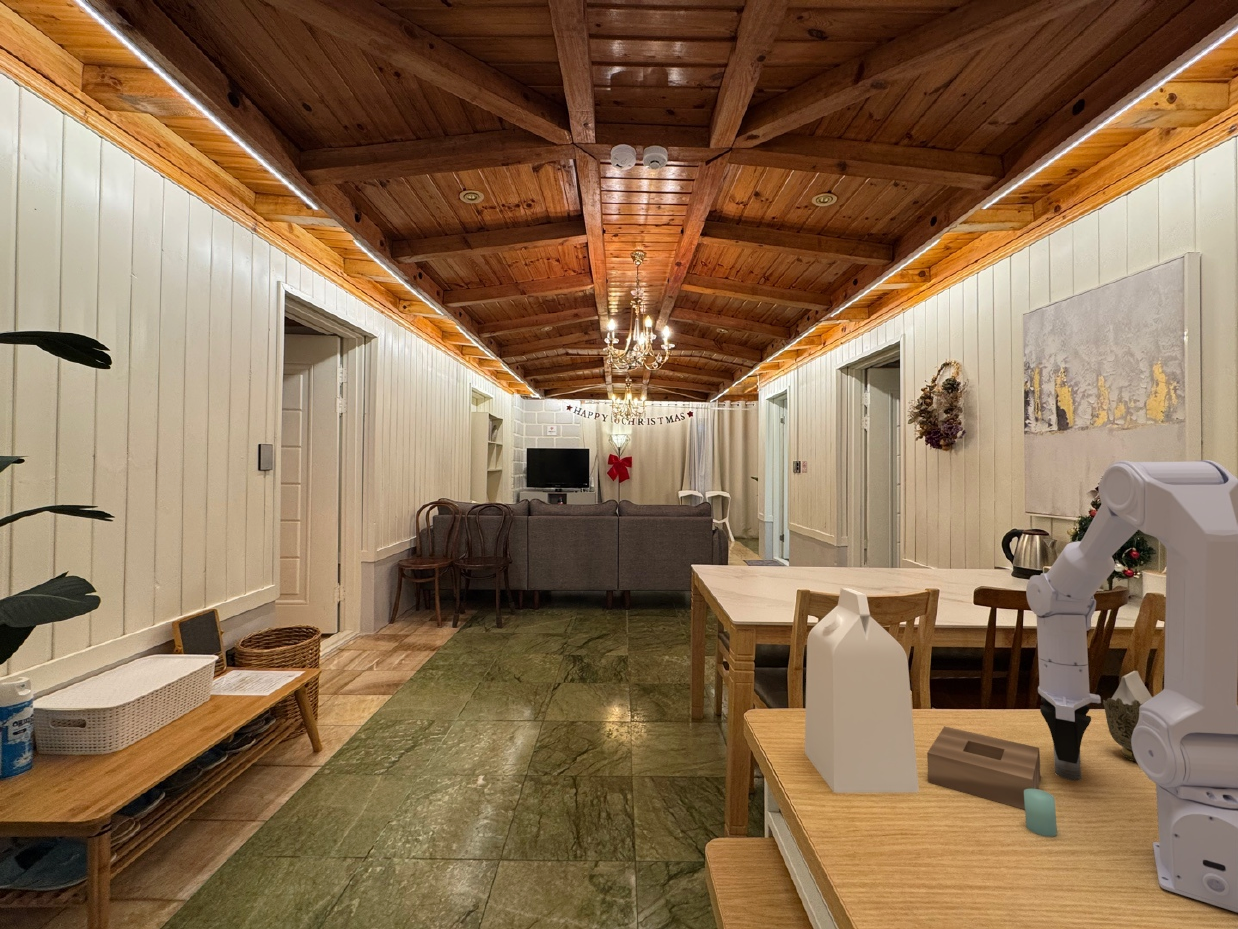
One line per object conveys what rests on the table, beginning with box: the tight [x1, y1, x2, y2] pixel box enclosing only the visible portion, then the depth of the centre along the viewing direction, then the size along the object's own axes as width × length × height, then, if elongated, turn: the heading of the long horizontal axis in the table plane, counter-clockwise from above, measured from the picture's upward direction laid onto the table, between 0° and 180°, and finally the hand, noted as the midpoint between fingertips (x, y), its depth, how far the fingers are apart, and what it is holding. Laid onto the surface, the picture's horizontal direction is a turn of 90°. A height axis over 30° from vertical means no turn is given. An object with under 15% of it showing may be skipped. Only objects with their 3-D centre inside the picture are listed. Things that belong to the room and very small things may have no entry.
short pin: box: [1024, 788, 1058, 838], centre depth 68 cm, size 3×3×4 cm
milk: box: [804, 587, 920, 794], centre depth 84 cm, size 12×12×26 cm
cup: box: [1103, 697, 1142, 763], centre depth 87 cm, size 8×7×8 cm
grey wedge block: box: [1111, 670, 1153, 705], centre depth 96 cm, size 4×7×10 cm, turn 124°
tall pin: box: [1053, 747, 1082, 781], centre depth 82 cm, size 3×3×7 cm
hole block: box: [926, 725, 1041, 811], centre depth 81 cm, size 12×12×4 cm
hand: (1067, 756), depth 82 cm, fingers closed on tall pin, 3 cm apart
